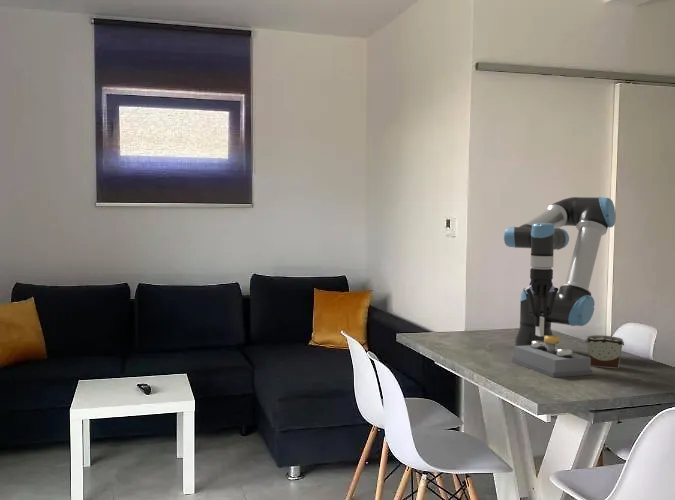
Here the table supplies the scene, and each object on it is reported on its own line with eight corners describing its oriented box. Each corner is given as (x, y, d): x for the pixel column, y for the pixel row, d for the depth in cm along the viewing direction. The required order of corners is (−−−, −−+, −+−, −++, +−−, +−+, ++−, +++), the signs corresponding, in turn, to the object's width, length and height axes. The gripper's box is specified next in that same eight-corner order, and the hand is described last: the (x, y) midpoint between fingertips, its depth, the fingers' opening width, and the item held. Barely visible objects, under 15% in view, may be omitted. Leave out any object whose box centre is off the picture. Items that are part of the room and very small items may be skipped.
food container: (622, 365, 238) (623, 336, 237) (623, 368, 232) (624, 339, 232) (584, 362, 242) (585, 333, 241) (584, 365, 236) (585, 336, 236)
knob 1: (539, 356, 241) (540, 340, 240) (548, 359, 236) (548, 342, 236) (528, 357, 239) (528, 340, 239) (536, 360, 235) (537, 343, 234)
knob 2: (565, 365, 227) (565, 347, 227) (574, 368, 223) (575, 350, 223) (553, 366, 226) (553, 348, 226) (562, 369, 221) (563, 351, 221)
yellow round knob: (552, 352, 234) (553, 335, 234) (561, 355, 229) (562, 337, 229) (540, 352, 232) (541, 335, 232) (549, 355, 228) (550, 338, 228)
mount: (548, 359, 244) (548, 344, 244) (591, 374, 223) (592, 357, 222) (512, 361, 240) (512, 346, 239) (552, 377, 218) (553, 360, 218)
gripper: (550, 266, 242) (548, 332, 243) (519, 267, 237) (517, 334, 239) (564, 268, 235) (562, 336, 236) (531, 269, 230) (529, 338, 232)
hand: (539, 335), depth 238 cm, fingers closed
